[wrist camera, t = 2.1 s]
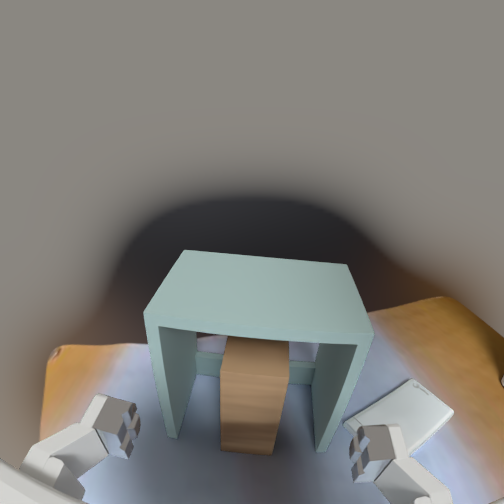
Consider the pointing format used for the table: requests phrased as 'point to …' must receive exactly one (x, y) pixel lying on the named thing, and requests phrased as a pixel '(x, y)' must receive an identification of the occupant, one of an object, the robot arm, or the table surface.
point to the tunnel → (258, 327)
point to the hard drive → (406, 414)
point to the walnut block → (252, 393)
